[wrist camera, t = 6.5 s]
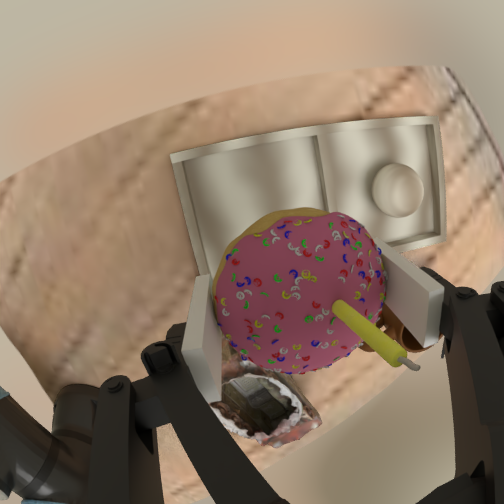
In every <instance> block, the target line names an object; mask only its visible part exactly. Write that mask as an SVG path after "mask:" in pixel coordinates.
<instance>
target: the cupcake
mask: <svg viewBox="0 0 504 504" xmlns="http://www.w3.org/2000/svg"><path fill="white" fill-rule="evenodd" d="M379 250H380V251H379ZM379 252H380V253H379ZM381 253H382V251H381V249H380V248H378V246H377V244H375V242H374V241H373V239H372V237H371V236H370V234H369V233H368V231H367V230H366V229H365V226H364V225H363V224H361V223H359V222H358V221H356V220H355V219H353V218H352V217H350V216H348V215H346V214H343V213H340V212H332V213H330V212H327V211H323V210H320V209H315V208H310V207H301V208H295V209H287V210H279V211H274V212H271V213H269V214H267V215H265V216H263V217H261V218H260V219H259V220H257V221H256V222H255V223H253V224H252V225H251V226H249V227H248V228H247V229H246V230H245V231H244V232H243V233H242V234H241V235H239V236H238V237H237V238H235V239H234V240H233V241H232V242H230V243H229V245H228V246H227V247H226V249H225V251H224V254H223V256H222V259H221V261H220V264H219V267H218V269H217V272H216V274H215V277H214V280H213V284H212V296H213V304H214V312H215V317H216V320H217V325H219V327H220V329H221V331H222V333H223V334H224V336H225V339H226V340H227V341H228V342H229V345H230V346H232V347H233V348H234V349H235V350H236V351H238V352H239V353H240V354H241V359H242V360H243V361H246V360H249V361H251V362H252V363H254V364H256V365H258V366H260V367H262V368H264V369H265V370H267V371H268V370H271V371H275V372H281V373H286V374H305V372H307V371H312V372H316V371H315V370H317V369H322V368H329V366H330V365H332V363H334V362H336V361H337V360H339V359H341V358H343V357H344V356H345V357H348V356H349V354H350V353H351V352H352V351H353V350H354V349H356V348H357V347H360V346H362V345H363V343H362V342H363V341H365V342H366V343H367V344H368V345H369V346H370V347H371V348H372V349H373V350H375V351H376V352H377V353H378V354H379V355H380V356H381V357H382V358H383V359H384V360H386V361H387V362H388V363H389V364H390V365H391V366H392V367H399V366H401V365H402V364H404V365H406V366H407V367H408V368H410V369H411V370H414V371H418V370H419V369H420V366H419V365H416V364H414V363H413V362H412V361H411V360H409V359H407V351H406V350H405V349H404V348H403V347H401V346H400V345H399V344H398V343H396V342H395V341H394V340H393V339H391V338H390V337H389V336H387V335H386V334H385V333H384V332H382V331H381V330H380V329H379V328H377V327H376V323H375V322H377V321H378V320H379V319H380V317H379V318H378V316H379V314H380V313H381V312H382V306H383V302H384V301H385V299H386V286H385V285H386V282H385V281H386V280H387V272H386V271H384V265H383V262H382V259H381V256H380V255H381ZM385 278H386V279H385ZM346 355H347V356H346ZM244 358H246V359H244Z"/></svg>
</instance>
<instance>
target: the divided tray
mask: <svg viewBox="0 0 504 504" xmlns="http://www.w3.org/2000/svg"><path fill="white" fill-rule="evenodd" d="M170 158H171V162H172V166H173V171H174V175H175V179H176V184H177V188H178V192H179V196H180V200H181V204H182V208H183V212H184V216H185V220H186V224H187V228H188V232H189V236H190V240H191V244H192V247H193V251H194V255H195V259H196V262H197V266H198V270H199V273H200V276H202V275H206V274H210V276H211V280H212V283H213V280H214V277H215V274H216V272H217V269H218V267H219V264H220V261H221V259H222V256H223V254H224V251H225V249H226V247H227V246H228V245H229V243H230V242H232V241H233V240H234V239H235V238H237V237H238V236H239V235H241V234H242V233H243V232H244V231H245V230H246V229H247V228H248V227H249V226H251V225H252V224H253V223H255V222H256V221H257V220H259V219H260V218H261V217H263V216H265V215H267V214H269V213H271V212H274V211H279V210H287V209H295V208H301V207H310V208H315V209H320V210H323V211H327V212H330V213H332V212H340V213H343V214H346V215H348V216H350V217H352V218H353V219H355V220H356V221H358V222H359V223H361V224H363V225H364V226H365V229H366V230H367V231H368V233H369V234H370V236H371V237H372V239H373V238H379V239H380V240H382V241H383V242H384V243H386V244H387V245H389V246H390V247H391V248H393V249H394V250H396V251H397V252H398V253H402V252H406V251H410V250H414V249H418V248H422V247H426V246H430V245H434V244H437V243H441V242H445V241H446V189H445V172H444V160H443V149H442V140H441V132H440V125H439V118H438V116H417V117H398V118H383V119H371V120H360V121H350V122H341V123H332V124H324V125H317V126H309V127H302V128H295V129H289V130H283V131H277V132H271V133H265V134H259V135H254V136H249V137H244V138H238V139H234V140H229V141H224V142H219V143H215V144H210V145H206V146H201V147H197V148H193V149H189V150H185V151H180V152H176V153H173V154H170ZM393 163H399V164H404V165H407V166H409V167H410V168H412V169H413V170H414V171H415V172H416V173H417V174H418V175H419V177H420V179H421V181H422V183H423V188H424V196H423V200H422V203H421V205H420V206H419V208H418V209H417V210H416V211H415V212H414V213H413V214H411V215H409V216H407V217H402V218H395V217H391V216H388V215H386V214H385V213H383V212H382V211H381V210H380V209H379V208H378V207H377V205H376V204H375V202H374V200H373V196H372V182H373V179H374V177H375V175H376V174H377V172H378V171H379V170H380V169H382V168H383V167H384V166H386V165H389V164H393Z"/></svg>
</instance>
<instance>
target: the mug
mask: <svg viewBox="0 0 504 504" xmlns="http://www.w3.org/2000/svg"><path fill="white" fill-rule="evenodd" d="M379 317H380V319H379V320H378V321H377V322H375V323H376V327H377V328H379V329H380V328H381V327H382V326H383V325H384V326H385V327H386V330H385V331H384V333H385V334H386V335H387V336H389V337H390V338H391V339H393V340H396V341H397V342H398V343H399V344H400V345H401V346H402V347H403V348H404V349H405V350H406V351H408V352H413V353H417V352H422V351H425V350H427V349H429V348H430V347H432V346H433V345H434V344H433V345H431V346H428V347H425V348H423V346H422V345H421V344H420V343H419V342H418V341H417V339H416V338H415V337H414V336H413V335H412V333H411V332H410V331H409V330H408V329H407V328H406V326H405V325H404V324H403V323H402V322H401V321H400V320H399V318H398V317H397V316H396V315H395V314H394V313H393V312H392V310H391V309H390V308H389V307H388V306H387V305H386V304H385V302H383V306H382V312H381V313H380V314H379V316H378V318H379ZM442 336H443V334H442V333H441V332H439V339H438V341H439V340H440V339H441V337H442ZM362 343H363V345H362V346H360V347H359V348H360V349H362V350H364V351H366V352H374V351H375V350H373V349H372V348H371V347H370V346H369V345H368V344H367V343H366V342H365V341H363V342H362Z"/></svg>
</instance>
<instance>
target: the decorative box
mask: <svg viewBox="0 0 504 504" xmlns="http://www.w3.org/2000/svg"><path fill="white" fill-rule="evenodd" d="M244 359H246V358H244ZM208 404H209V406H210V407H211V409H212V410H213V411H214V413H215V414H216V416H217V417H218V419H219V420H220V421H221V423H222V424H225V425H226V426H224V427H225V428H227V429H229V430H230V431H231V433H232V432H234V433H237V434H238V435H239V436H243V437H245V438H249V439H250V438H251V439H256V440H257V442H258V443H259V444H260V445H261V446H265V445H270V446H272V447H273V448H279V447H281V446H282V445H284V444H287V443H290V442H292V441H295V440H299V439H300V438H301V437H303V436H304V435H305V434H306V433H308V432H309V431H311V430H312V429H314V428H317V427H319V426H320V425H321V424H322V421H321V418H320V415H319V413H318V412H317V410H316V409H315V408H314V407H313V406H312V405H311V403H310V402H309V401H308V400H307V399H306V397H305V396H304V395H303V393H302V392H301V391H300V390H299V388H298V387H297V386H296V384H295V382H294V380H293V379H292V377H291V376H290V374H286V373H281V372H275V371H271V370H268V371H267V370H265V369H264V368H262V367H260V366H258V365H256V364H254V363H252V362H251V361H249V360H246V361H243V360H242V359H241V354H240V353H239V352H238V351H236V350H235V349H234V348H233V347H232V346H230V345H229V342H228V341H227V340H226V339H225V336H224V334H223V333H222V364H221V401H216V402H209V403H208Z"/></svg>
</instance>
